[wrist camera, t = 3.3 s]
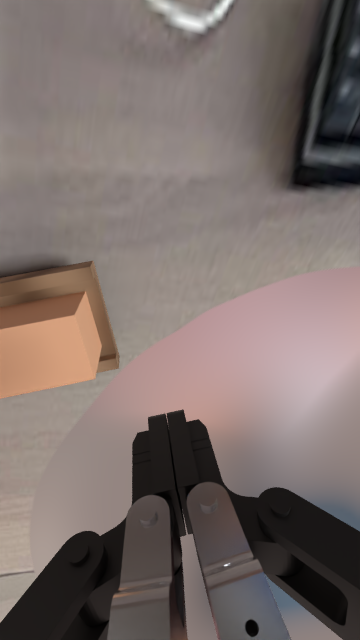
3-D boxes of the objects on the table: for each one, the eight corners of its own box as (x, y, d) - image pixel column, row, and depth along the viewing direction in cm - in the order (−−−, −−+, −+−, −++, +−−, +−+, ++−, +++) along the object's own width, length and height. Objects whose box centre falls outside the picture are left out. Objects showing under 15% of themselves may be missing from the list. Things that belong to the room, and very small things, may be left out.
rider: (85, 291, 25) (74, 315, 20) (101, 346, 27) (95, 378, 22) (-5, 308, 25) (-36, 336, 20) (19, 362, 27) (-5, 399, 22)
